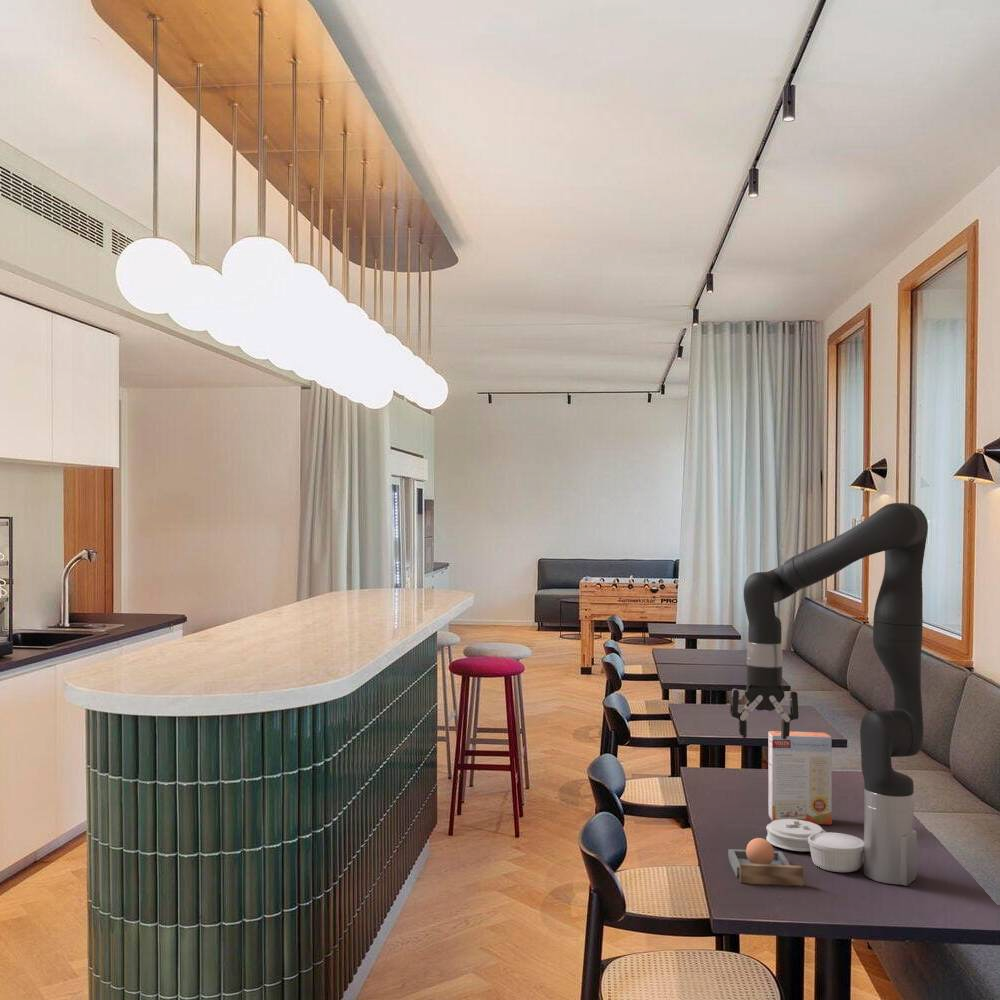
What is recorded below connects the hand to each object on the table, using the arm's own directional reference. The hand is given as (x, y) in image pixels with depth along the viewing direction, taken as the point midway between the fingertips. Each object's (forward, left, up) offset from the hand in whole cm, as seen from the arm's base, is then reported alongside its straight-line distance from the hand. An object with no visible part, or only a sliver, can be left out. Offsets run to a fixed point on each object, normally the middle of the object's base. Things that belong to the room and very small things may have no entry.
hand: (763, 737), depth 209 cm
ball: (-5, +12, -21) cm, 24 cm away
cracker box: (+3, -26, -24) cm, 36 cm away
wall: (-10, +18, -24) cm, 32 cm away
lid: (-4, -8, -24) cm, 26 cm away
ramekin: (-16, -1, -24) cm, 29 cm away
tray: (-5, +12, -24) cm, 27 cm away
